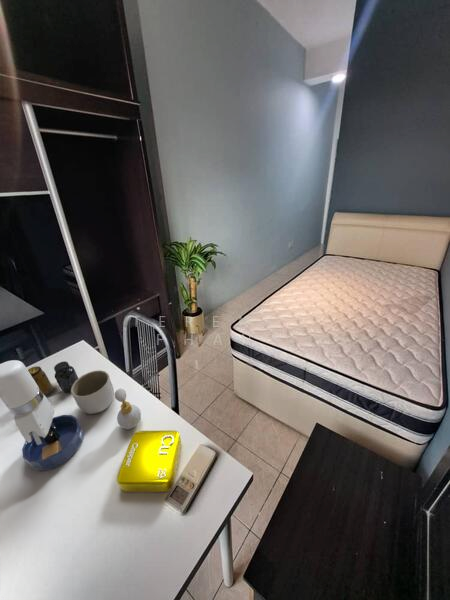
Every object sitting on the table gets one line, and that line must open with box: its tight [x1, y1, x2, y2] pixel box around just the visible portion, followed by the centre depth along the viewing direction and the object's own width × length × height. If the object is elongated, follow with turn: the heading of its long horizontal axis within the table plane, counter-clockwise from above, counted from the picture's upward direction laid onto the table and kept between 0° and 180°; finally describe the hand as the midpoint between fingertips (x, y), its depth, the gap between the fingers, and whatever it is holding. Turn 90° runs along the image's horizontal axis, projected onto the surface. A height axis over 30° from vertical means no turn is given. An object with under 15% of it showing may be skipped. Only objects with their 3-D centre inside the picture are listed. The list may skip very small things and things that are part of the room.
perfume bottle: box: [114, 388, 142, 430], centre depth 83 cm, size 8×10×12 cm
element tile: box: [116, 430, 182, 493], centre depth 72 cm, size 15×15×5 cm
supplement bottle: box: [53, 361, 79, 394], centre depth 98 cm, size 7×7×12 cm
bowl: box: [21, 414, 85, 472], centre depth 78 cm, size 15×15×5 cm
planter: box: [70, 370, 115, 415], centre depth 90 cm, size 12×12×11 cm
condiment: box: [27, 365, 61, 399], centre depth 97 cm, size 7×8×12 cm
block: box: [42, 441, 63, 459], centre depth 74 cm, size 4×4×4 cm
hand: (54, 440), depth 76 cm, fingers closed
